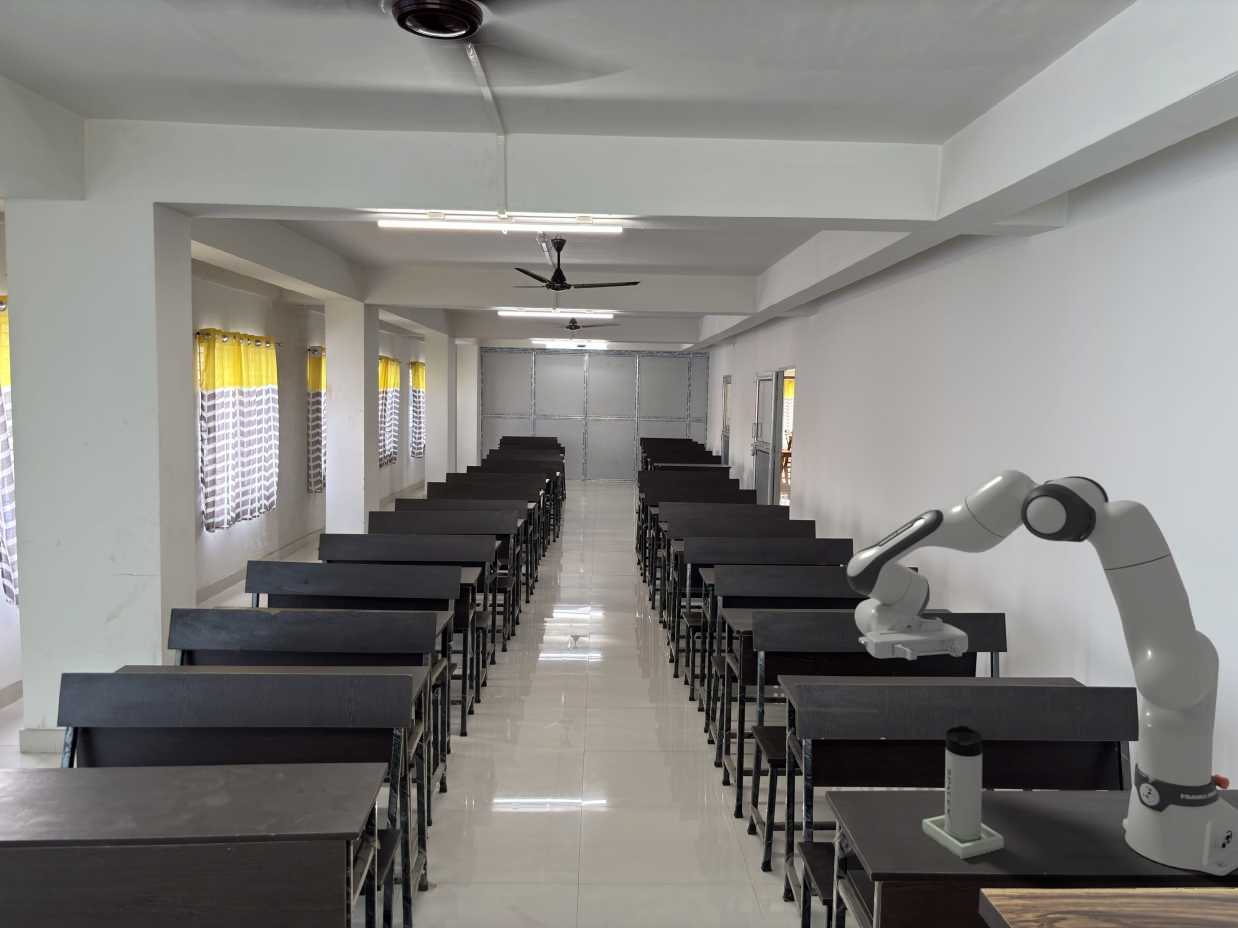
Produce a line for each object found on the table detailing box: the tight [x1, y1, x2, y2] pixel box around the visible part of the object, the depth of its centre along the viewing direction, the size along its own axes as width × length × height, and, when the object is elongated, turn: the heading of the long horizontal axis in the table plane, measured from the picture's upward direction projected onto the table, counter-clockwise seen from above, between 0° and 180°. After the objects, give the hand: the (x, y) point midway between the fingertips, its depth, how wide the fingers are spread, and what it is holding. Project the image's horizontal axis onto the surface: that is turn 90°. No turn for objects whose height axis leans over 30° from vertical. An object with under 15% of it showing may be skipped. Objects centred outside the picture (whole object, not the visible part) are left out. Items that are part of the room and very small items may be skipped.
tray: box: [921, 814, 1005, 860], centre depth 157 cm, size 9×10×2 cm
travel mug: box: [944, 724, 983, 844], centre depth 156 cm, size 6×7×20 cm
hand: (936, 654), depth 164 cm, fingers open, 8 cm apart
